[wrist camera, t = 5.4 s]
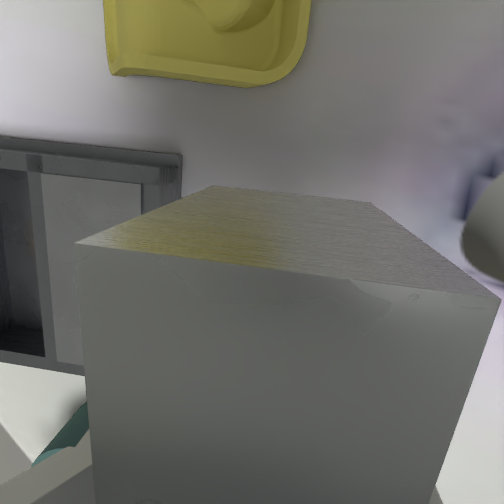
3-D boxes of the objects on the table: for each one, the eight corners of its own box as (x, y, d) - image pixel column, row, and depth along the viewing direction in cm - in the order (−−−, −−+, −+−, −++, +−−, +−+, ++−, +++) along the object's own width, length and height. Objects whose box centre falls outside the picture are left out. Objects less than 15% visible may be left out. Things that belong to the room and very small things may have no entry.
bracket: (58, 445, 30) (-33, 559, 22) (95, 377, 28) (6, 477, 19) (142, 492, 31) (85, 622, 22) (187, 430, 28) (141, 550, 19)
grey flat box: (-13, 135, 23) (-82, 130, 19) (182, 155, 22) (155, 154, 17) (13, 337, 27) (-38, 369, 23) (175, 363, 26) (152, 402, 22)
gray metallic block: (212, 185, 8) (73, 243, 3) (370, 202, 7) (501, 299, 3) (196, 514, 11) (119, 787, 6) (303, 537, 11) (306, 846, 6)
